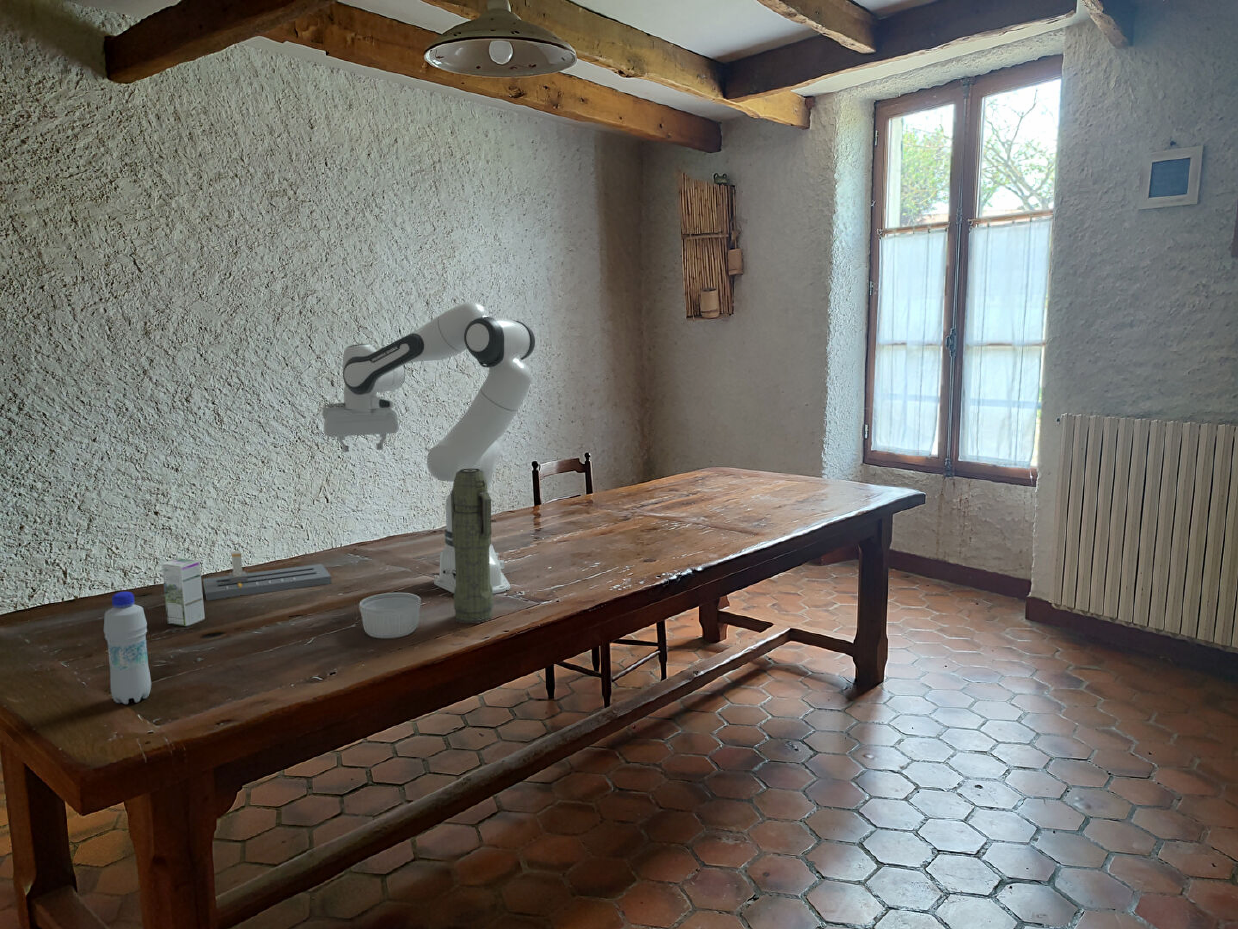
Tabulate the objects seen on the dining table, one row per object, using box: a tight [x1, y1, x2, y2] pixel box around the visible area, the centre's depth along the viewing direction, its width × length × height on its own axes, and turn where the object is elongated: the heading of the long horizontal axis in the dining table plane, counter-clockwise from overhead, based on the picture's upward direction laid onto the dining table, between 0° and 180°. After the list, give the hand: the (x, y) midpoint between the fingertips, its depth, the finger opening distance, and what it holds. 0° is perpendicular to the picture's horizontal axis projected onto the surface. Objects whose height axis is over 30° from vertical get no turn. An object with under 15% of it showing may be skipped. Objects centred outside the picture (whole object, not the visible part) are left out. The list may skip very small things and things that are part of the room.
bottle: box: [103, 591, 152, 705], centre depth 148 cm, size 7×7×20 cm
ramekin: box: [358, 592, 422, 639], centre depth 185 cm, size 13×13×7 cm
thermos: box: [451, 468, 494, 624], centre depth 191 cm, size 9×12×35 cm
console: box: [202, 563, 332, 601], centre depth 219 cm, size 14×30×2 cm, turn 119°
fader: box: [228, 550, 247, 584], centre depth 215 cm, size 5×4×8 cm
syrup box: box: [161, 557, 206, 627], centre depth 190 cm, size 6×6×14 cm
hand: (362, 450), depth 235 cm, fingers open, 8 cm apart
